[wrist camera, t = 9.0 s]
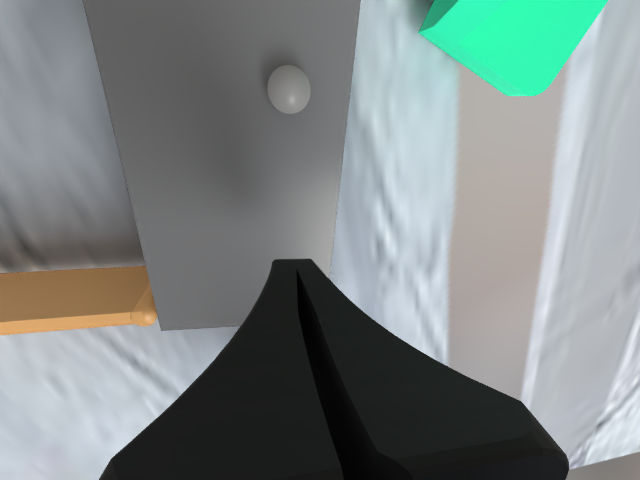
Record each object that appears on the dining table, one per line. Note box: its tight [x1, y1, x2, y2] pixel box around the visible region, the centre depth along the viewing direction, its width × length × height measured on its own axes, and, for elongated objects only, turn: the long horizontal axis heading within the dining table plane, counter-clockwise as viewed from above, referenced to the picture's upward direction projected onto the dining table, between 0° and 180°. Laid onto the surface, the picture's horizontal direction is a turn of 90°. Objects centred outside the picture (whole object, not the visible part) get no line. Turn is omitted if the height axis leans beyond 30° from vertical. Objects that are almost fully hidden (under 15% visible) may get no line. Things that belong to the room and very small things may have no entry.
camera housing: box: [83, 0, 361, 331], centre depth 14 cm, size 17×9×6 cm, turn 175°
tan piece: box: [0, 266, 158, 335], centre depth 16 cm, size 13×2×4 cm, turn 88°
